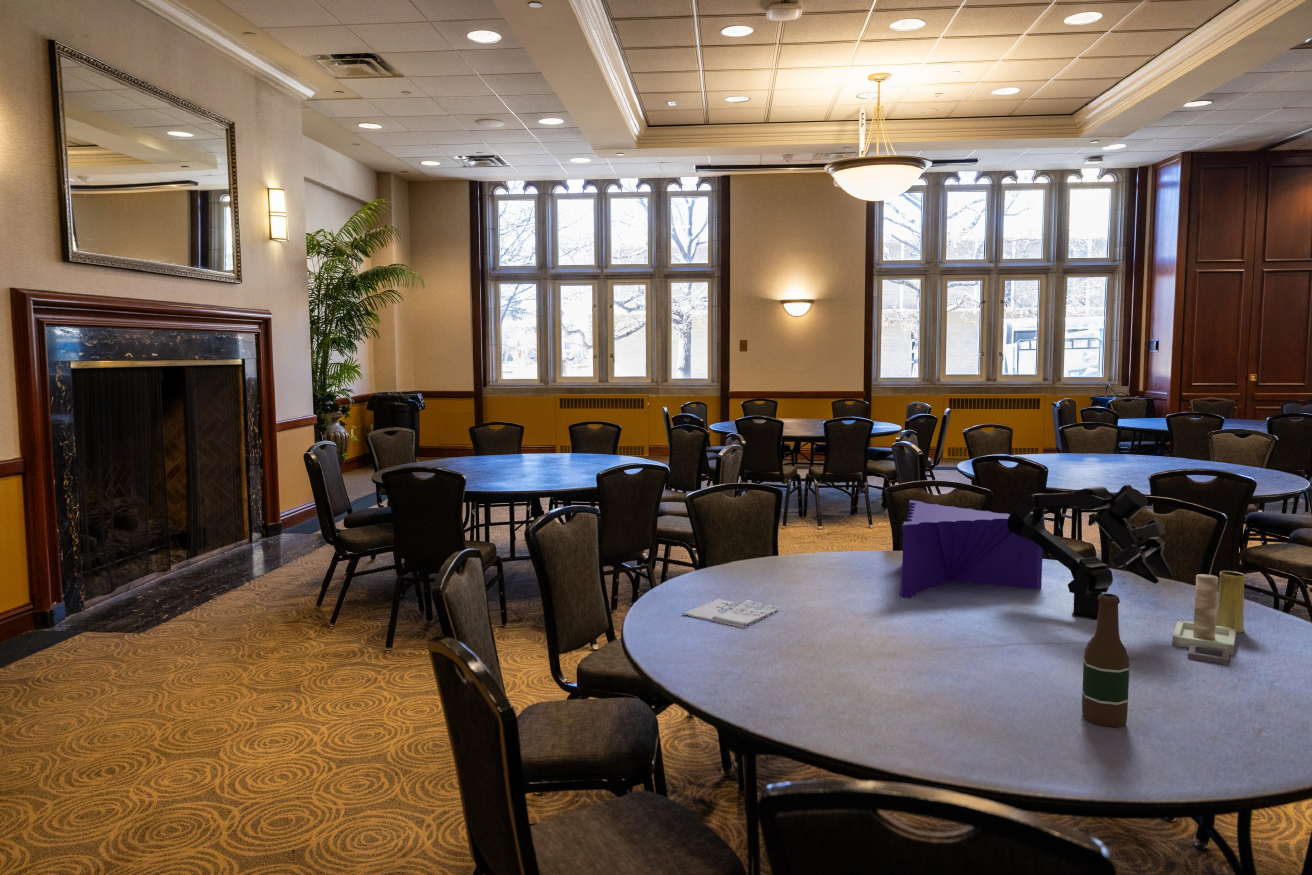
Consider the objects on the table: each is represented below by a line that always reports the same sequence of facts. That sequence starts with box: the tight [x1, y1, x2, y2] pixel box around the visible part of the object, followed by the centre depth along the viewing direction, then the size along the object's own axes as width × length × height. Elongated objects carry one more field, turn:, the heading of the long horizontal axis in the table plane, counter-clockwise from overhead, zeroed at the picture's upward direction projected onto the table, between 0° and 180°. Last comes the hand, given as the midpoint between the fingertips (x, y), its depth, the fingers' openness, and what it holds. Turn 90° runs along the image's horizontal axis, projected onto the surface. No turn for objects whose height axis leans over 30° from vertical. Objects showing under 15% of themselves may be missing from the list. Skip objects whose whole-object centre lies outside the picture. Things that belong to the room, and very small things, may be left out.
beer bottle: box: [1081, 592, 1130, 728], centre depth 160 cm, size 8×8×24 cm
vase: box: [1216, 570, 1246, 634], centre depth 212 cm, size 6×6×14 cm
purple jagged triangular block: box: [899, 499, 1045, 599], centre depth 256 cm, size 40×45×21 cm
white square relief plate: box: [682, 598, 781, 629], centre depth 230 cm, size 19×20×2 cm
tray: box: [1171, 619, 1237, 656], centre depth 204 cm, size 12×15×2 cm
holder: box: [1187, 644, 1230, 666], centre depth 194 cm, size 8×8×1 cm
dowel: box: [1193, 573, 1219, 641], centre depth 204 cm, size 4×4×15 cm
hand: (1164, 579), depth 209 cm, fingers open, 9 cm apart
